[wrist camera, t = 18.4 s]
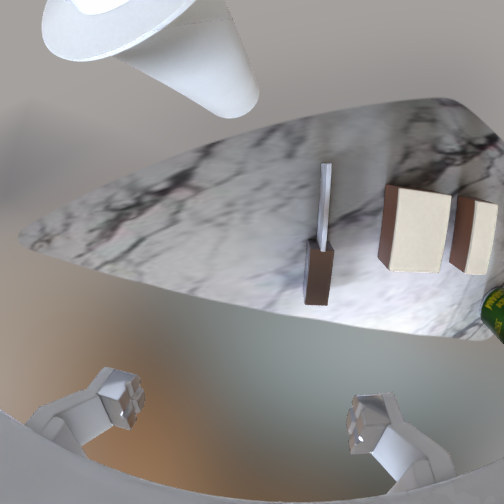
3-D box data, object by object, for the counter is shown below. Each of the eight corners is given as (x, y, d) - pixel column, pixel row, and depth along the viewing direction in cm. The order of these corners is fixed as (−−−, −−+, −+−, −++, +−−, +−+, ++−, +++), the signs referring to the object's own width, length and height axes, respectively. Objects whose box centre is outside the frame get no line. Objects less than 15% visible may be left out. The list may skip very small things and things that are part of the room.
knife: (311, 162, 26) (316, 162, 22) (334, 164, 26) (342, 164, 22) (303, 290, 30) (304, 307, 26) (323, 291, 30) (328, 308, 26)
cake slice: (457, 195, 25) (477, 201, 21) (478, 198, 25) (498, 204, 21) (448, 261, 27) (466, 274, 23) (468, 262, 27) (486, 274, 23)
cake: (385, 184, 26) (400, 188, 22) (432, 190, 25) (451, 195, 21) (377, 257, 28) (389, 271, 24) (423, 259, 27) (439, 273, 24)
